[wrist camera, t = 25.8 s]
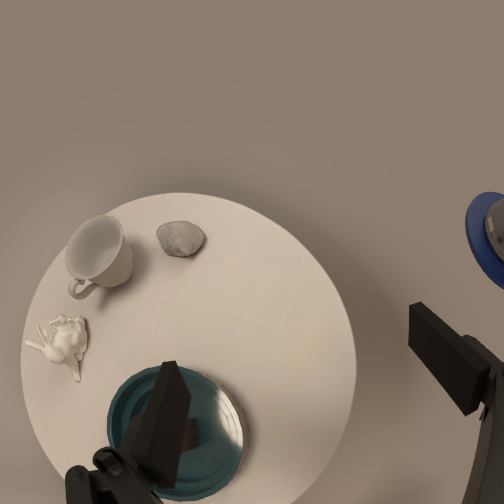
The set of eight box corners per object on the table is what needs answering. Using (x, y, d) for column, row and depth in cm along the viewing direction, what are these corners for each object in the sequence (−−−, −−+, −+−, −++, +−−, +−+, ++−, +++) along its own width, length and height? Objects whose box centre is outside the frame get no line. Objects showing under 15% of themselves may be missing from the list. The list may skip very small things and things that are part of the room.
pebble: (160, 265, 52) (148, 251, 47) (163, 226, 56) (153, 211, 51) (206, 259, 51) (197, 244, 47) (207, 220, 55) (199, 203, 50)
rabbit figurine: (80, 383, 43) (43, 374, 34) (53, 370, 44) (17, 359, 36) (96, 322, 48) (63, 303, 40) (69, 313, 50) (36, 294, 41)
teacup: (79, 301, 50) (46, 280, 42) (113, 237, 56) (87, 208, 48) (122, 325, 47) (89, 306, 38) (159, 251, 53) (135, 221, 44)
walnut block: (194, 417, 38) (167, 420, 29) (199, 446, 36) (173, 456, 27) (166, 420, 38) (133, 421, 29) (171, 447, 36) (139, 455, 27)
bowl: (275, 412, 38) (272, 414, 32) (208, 512, 31) (196, 525, 25) (165, 347, 44) (148, 339, 39) (109, 440, 37) (87, 441, 32)
